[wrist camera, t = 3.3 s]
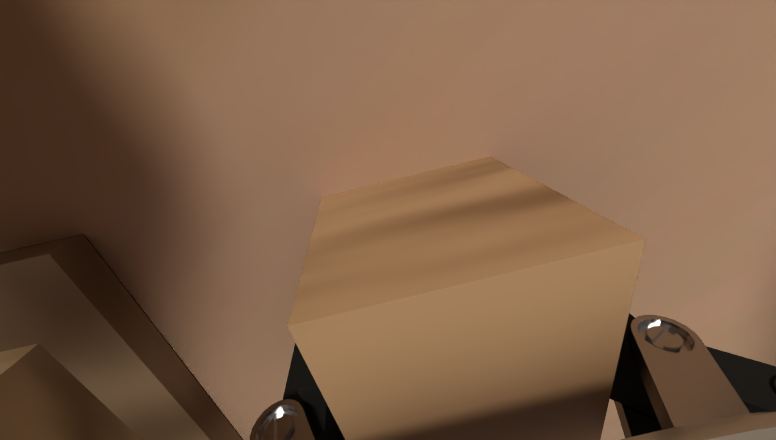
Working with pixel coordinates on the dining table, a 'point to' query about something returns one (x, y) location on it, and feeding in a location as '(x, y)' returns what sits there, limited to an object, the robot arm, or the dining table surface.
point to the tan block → (464, 308)
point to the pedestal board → (89, 356)
